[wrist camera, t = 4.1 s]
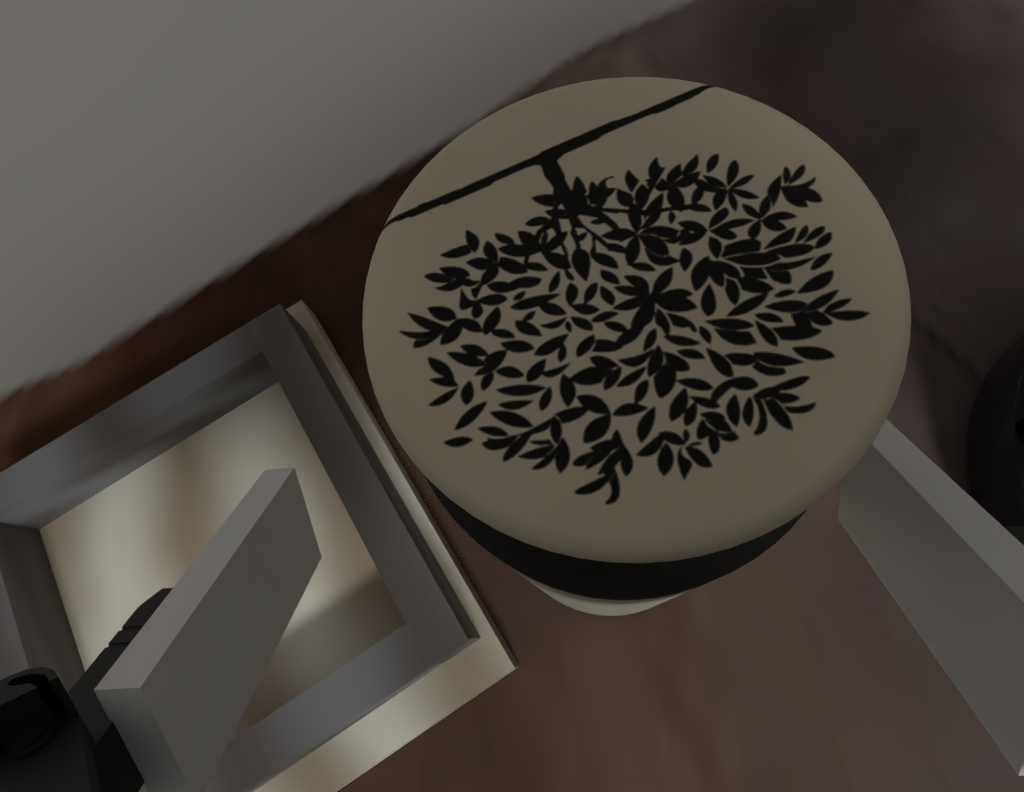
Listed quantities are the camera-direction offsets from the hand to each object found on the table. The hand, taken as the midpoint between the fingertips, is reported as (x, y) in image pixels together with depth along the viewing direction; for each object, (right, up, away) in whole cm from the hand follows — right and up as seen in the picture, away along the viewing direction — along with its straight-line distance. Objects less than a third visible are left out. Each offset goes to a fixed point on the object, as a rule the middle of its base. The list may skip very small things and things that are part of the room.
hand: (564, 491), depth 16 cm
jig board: (-12, -5, +11) cm, 17 cm away
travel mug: (+3, -2, +10) cm, 11 cm away
